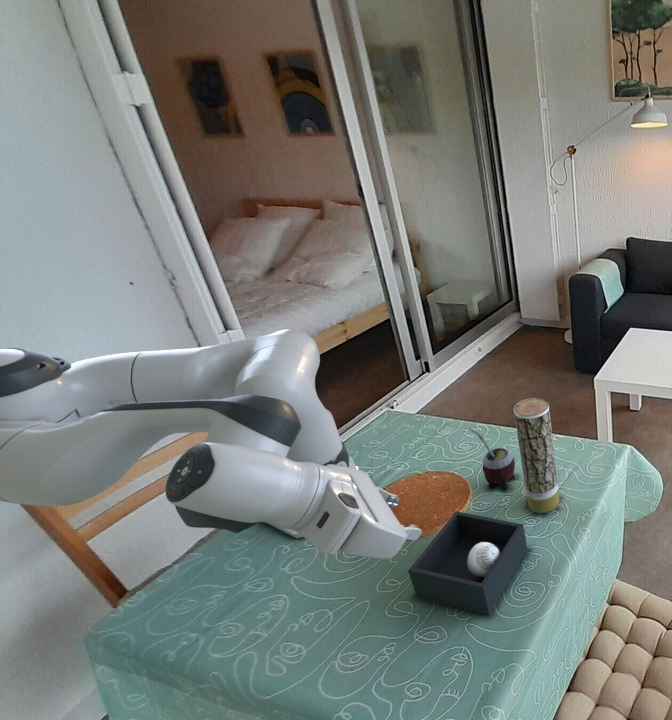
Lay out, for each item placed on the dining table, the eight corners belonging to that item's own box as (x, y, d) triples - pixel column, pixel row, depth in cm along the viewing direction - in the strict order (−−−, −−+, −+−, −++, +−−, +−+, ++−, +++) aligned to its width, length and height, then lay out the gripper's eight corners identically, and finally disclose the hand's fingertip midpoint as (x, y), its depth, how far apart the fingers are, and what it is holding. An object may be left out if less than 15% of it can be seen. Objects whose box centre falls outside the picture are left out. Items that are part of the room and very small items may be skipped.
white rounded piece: (476, 541, 95) (494, 528, 91) (497, 565, 95) (516, 553, 91) (452, 564, 90) (471, 551, 86) (475, 590, 90) (494, 578, 86)
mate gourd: (521, 484, 115) (513, 430, 109) (488, 498, 111) (477, 443, 105) (509, 468, 121) (501, 415, 114) (477, 480, 117) (466, 427, 110)
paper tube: (553, 517, 106) (541, 418, 95) (523, 512, 107) (507, 414, 96) (563, 495, 112) (553, 399, 101) (535, 491, 113) (522, 396, 102)
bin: (415, 597, 89) (407, 570, 86) (462, 536, 102) (456, 511, 98) (489, 615, 86) (483, 587, 82) (527, 550, 98) (523, 524, 95)
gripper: (291, 482, 76) (374, 501, 87) (325, 561, 63) (420, 572, 73) (315, 447, 77) (395, 469, 87) (354, 517, 64) (443, 534, 74)
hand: (407, 517), depth 80 cm, fingers open, 8 cm apart
